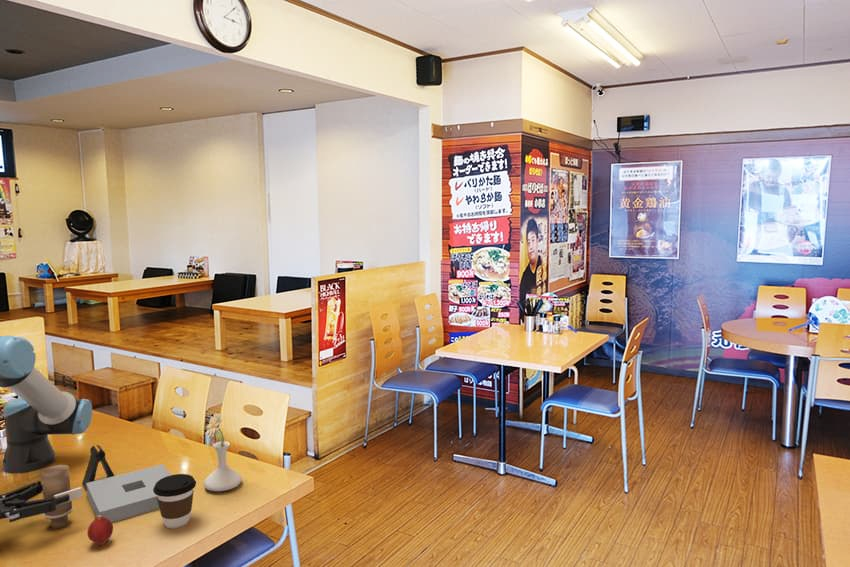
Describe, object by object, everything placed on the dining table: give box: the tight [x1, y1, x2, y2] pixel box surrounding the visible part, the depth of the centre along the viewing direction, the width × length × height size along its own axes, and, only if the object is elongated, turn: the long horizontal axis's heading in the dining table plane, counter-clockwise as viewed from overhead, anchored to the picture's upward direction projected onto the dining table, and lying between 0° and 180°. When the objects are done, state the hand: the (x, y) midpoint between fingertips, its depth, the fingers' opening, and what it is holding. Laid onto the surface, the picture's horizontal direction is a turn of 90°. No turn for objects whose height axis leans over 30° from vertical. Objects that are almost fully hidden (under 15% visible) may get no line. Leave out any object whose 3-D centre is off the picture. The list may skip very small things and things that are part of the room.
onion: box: [87, 515, 114, 546], centre depth 154 cm, size 6×6×8 cm
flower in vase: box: [203, 412, 243, 492], centre depth 183 cm, size 13×11×25 cm
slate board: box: [86, 463, 172, 524], centre depth 178 cm, size 22×22×4 cm
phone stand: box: [81, 444, 115, 492], centre depth 187 cm, size 9×6×12 cm, turn 130°
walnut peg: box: [41, 464, 74, 530], centre depth 162 cm, size 7×7×16 cm
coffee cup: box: [153, 473, 197, 529], centre depth 164 cm, size 11×11×12 cm
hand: (75, 486), depth 165 cm, fingers open, 9 cm apart
